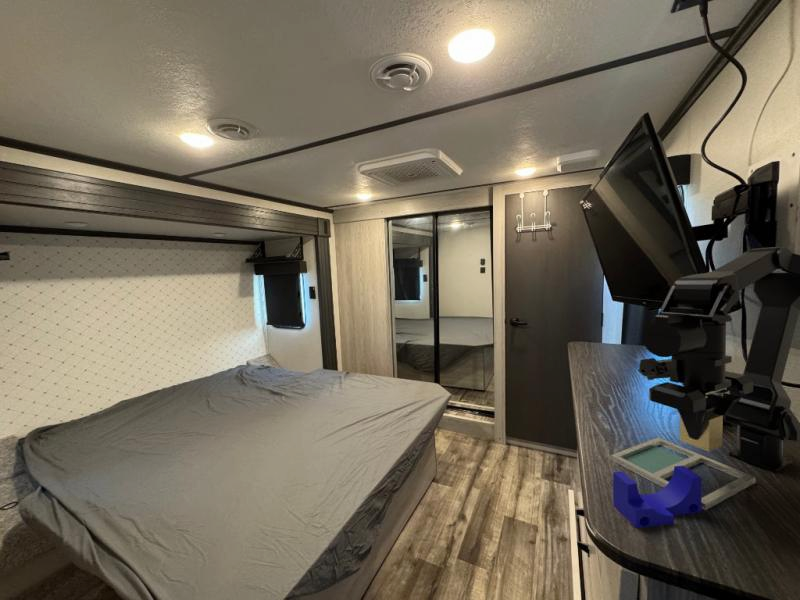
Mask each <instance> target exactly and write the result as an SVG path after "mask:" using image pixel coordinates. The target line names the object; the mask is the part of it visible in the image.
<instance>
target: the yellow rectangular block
mask: <svg viewBox="0 0 800 600" xmlns="http://www.w3.org/2000/svg"><path fill="white" fill-rule="evenodd" d="M679 417H680V421H679V423H680V425H679V426H680V428H679V432H680V433H679V436H680V439H679V440H680V442H683V443H686V444H687V445H691V446H693V447H696V448H698V449H701V450H704V451H706V452H709V453H710V452H712V451H713V450H716V449H718V448H720V447H723V430H724V429H723V426H724V425H723V424H724V419H723V415H720V414H717V413H713V412H712V414H711V416H710V418H709V420H708V422H707V424H706V426H705V428H704V430H703V432H702V434H701V435H700V437H699V439H698V440H695V439H692V438H690V437H689V435H688V433H687V430H686V428H685V426H684V423H683V421H682V418H681V416H680V415H679Z"/></svg>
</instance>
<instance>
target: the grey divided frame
mask: <svg viewBox="0 0 800 600" xmlns="http://www.w3.org/2000/svg"><path fill="white" fill-rule="evenodd" d="M659 446H661V447H659ZM662 447H664V448H666V449H664V448H662ZM667 449H669V450H671V451H673V452H675V453H678V454H680V455H682V454H683V456H685V455H686V456H685V457H687V456H688V457H687V458H684V457H682V456H680V455H678V454H675V453H673V452H670V451H669V450H667ZM610 460H611V461H613V462H614V463H616V464H618V465H620V466H622V467H623V468H625V469H627V470H629V471H631V472H632V473H634V474H637V475H639V476H640V477H642V478H643V479H646V480H648V481H650V482H651V483H654V484H655V485H657V486H659V487H661V488H662V489H663V488H664V487H665V486H666V485H667V484H668V483H669V482H670V481H668V480H667V479H668V478H672V476H673V472H674V466H684V467H686V468H688V469H690V468H693V467H695V466H697V465H699V464H703V463H704V465H706V466H709V467H710V466H711V468H714V469H715V470H718V471H720V472H722V473H726V474H727V475H729V476H732V477H734V478H737V479H735V480H733V481H731V482H729V483H727V484H726V485H725V484H724V486H722V487H720V488H718V489H716V490H714V491H712V492H710V493H708V494H706V495H704V496H703V497H701V510H703V511H707V510H709V509H710V508H712V507H714V506H716V505H717V504H720V503H721V502H723V501H725V500H726V499H729V498H730V497H732V496H734V495H736V494H738V493H739V492H741V491H743V490H745V489H746V488H748V487H750V486H752V485H754V484H756V476H753V475H751V474H750V473H749V474H748V473H747V472H743V471H741V470H739V469H736V468H734V467H731V466H730V465H727V464H724V463H721V462H719V461H717V460H715V459H712V458H708V457H707V456H705V455H703V454H700V453H698V452H695V451H692V450H690V449H687V448H685V447H684V446H683V447H682V446H681V445H677V444H675V443H672V442H671V441H667V440H665V439H663V438H660V437H656V438H654V439H650V440H648V441H645V442H643V443H639V444H637V445H634V446H631V447H629V448H626V449H624V450H621V451H618V452H616V453H612V454H611V455H610Z"/></svg>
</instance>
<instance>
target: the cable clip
mask: <svg viewBox="0 0 800 600" xmlns="http://www.w3.org/2000/svg"><path fill="white" fill-rule="evenodd" d="M612 476H613V477H612V478H613V479H612V483H613V484H612V485H613V491H612V492H613V497H612V498H613V507H614V508H615V509H616V510H617V511H618V512H619V513H620V514H621V515H622V516H623V517H624V518H625V519H626V520H627V521H628V522H630V524H631V525H632V526H633V527H634V528H636V529H638V528H639V529H640V528H649V527H657V526H666V525H674V524H675V516H680V515H690V514H698V513H700V514H701V513H702V508H701V498H702V482H703V481H702V479H703V478H702V476H700V475H699V474H697V473H695V472H694V471H692V470H691V469H690V468H686V467H684V466H674V472H673V476H671V477H670V480H669V481H668V482H669V483H668V484H667V485H666V486H665V487H664V488H663V487H662V489H661V490H659V491H657V492H654V493H651V494H641V493H640V492H639V488H638V483H637V482H635V480H633V479H632V478H631V477H630V476H628V475H627V474H626V473H624V472H623V471H622V470H621V471H614V472H612Z"/></svg>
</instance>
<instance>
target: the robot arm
mask: <svg viewBox="0 0 800 600" xmlns="http://www.w3.org/2000/svg"><path fill="white" fill-rule="evenodd" d="M750 285H753V289H752V291H753V293H754V295H755V296H756V297H757V299H758V300H759V302H760V304H761V305H760V309H759V312H758V316H757V317H758V318H757V321H756V325H755V328H754V330H753V331H754V332H753V336H752V340H751V342H750V343H751V344H750V347H749V351H748V355H747V358H746V362H745V367H744V370H743V373H738V372H731V371H727V370H726V365H727V364H729V363H732V360H733V359H732V357H733V356H731V355H727V354H726V350H727V349H726V348H727V346H726V345H727V342H726V339H727V337H726V336H727V323H728V322H732V320H733V318H732V317H731V315H729V314H728V313H729V312H730V310H731V308H732V307H733V306H735V304H737V302H738V301H740V300H741V295H740V291H742V290H743V289H745V288H747V287H749V286H750ZM799 315H800V254H797V253H794V252H792V251H791V250H790V249H789V248H788V247H781V246H774V247H771V246H770V247H760V248H752V249H749V250H745V251H744V252H743V254H742V255H740V256H739V257H736V258H734V259H733V260H731V261H729V262H727V263H725V264H724V265H721V266H719V267H718V268H716V269H714V270H711V271H709V272H704V273H695V274H690V275H686V276H682V277H679V278H678V279H676V280H675V282H674V283H673V285H672V286H671V287H670V289H669V291H668V293H667V296H666V297H665V299H664V302H663V303H662V306H661V308H660V309H659V312H658V314H656V315H655V316H654V322H652V323H650V324H648V325H647V326H646V327H645V329H644V330H643V333H642V334H641V335H642V336H641V337H642V338H641V339H642V342H643V345H644V348H646V350H647V351H648V352H650V353H651V354H652V355H654V356H657V357H661V358H668V359H659V360H658V359H656V358H654V357H651V358H643V359H640V361H639V369H638V371H639V373H640V374H641V375H642V376H643V377H646V378H647V381H653V380H655V379H669V381H667V382H663V383H659V384H656V385H654V386H652V387H650V388H649V389H648V391H649V392H648V400H649V401H650V402H653V403H656V404H659V405H663V406H666V407H668V408H672V409H675V410H677V412H678V414H679V417H680V416H681V418H682V421H683V423H684V426H685V428H686V430H687V433H688V435H689V437H690V438H692V439H695V440H698V439H699V437H700V435H701V434H702V432H703V430H704V428H705V426H706V424H707V422H708V420H709V418H710V416H711V414H712V412H713V413H717V414H720V415H723V422H724V423H728V424H729V423H730V424H733V425H736V426H737V447H735V448H733V449H731V450H728V453H727V454H728V455H729V456H731V457H734V458H737V459H740V460H742V461H745V462H747V463H750V464H753V465H755V466H757V467H760V468H763V469H766V470H769V471H771V472H774V473H777V472H779V471H781V470H783V469H785V468H787V467H788V466H790V465H791V464H792V463H793V460H791V459H789V458H786V457H784V456H783V454H784V453H783V451H784V442H787V441H792V442H793V441H794V442H798V441H800V420H799V419H798V418H797V417H796V415H795V414H794V413H793V411H792V410H791V404H792V399H790V397H789V395H788V394H787V393H788V392H786V389H785V388H784V387H783V384H782V381H783V377H784V373H785V369H786V365H787V362H788V357H789V354H790V349H791V346H792V342H793V339H794V334H795V331H796V327H797V322H798V319H799ZM669 357H671V358H669ZM678 383H679V384H678ZM680 384H682V385H680Z"/></svg>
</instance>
